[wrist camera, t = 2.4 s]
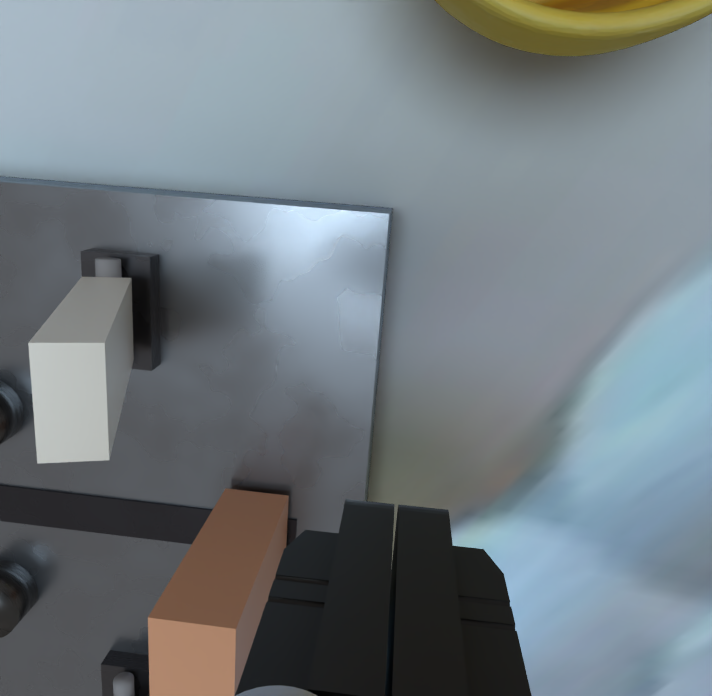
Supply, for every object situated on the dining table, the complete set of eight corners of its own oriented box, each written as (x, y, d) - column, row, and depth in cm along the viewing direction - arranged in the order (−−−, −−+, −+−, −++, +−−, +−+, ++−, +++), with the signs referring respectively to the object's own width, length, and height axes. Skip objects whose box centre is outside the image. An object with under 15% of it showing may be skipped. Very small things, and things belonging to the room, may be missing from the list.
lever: (132, 258, 21) (103, 319, 14) (135, 365, 22) (110, 480, 15) (85, 256, 21) (26, 319, 13) (90, 365, 22) (38, 483, 14)
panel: (392, 208, 24) (386, 217, 19) (346, 734, 31) (334, 826, 26) (-15, 175, 25) (-107, 176, 20) (30, 689, 32) (-31, 771, 27)
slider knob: (288, 495, 24) (235, 629, 17) (284, 587, 25) (232, 747, 18) (225, 488, 24) (147, 617, 17) (223, 579, 25) (150, 735, 18)
